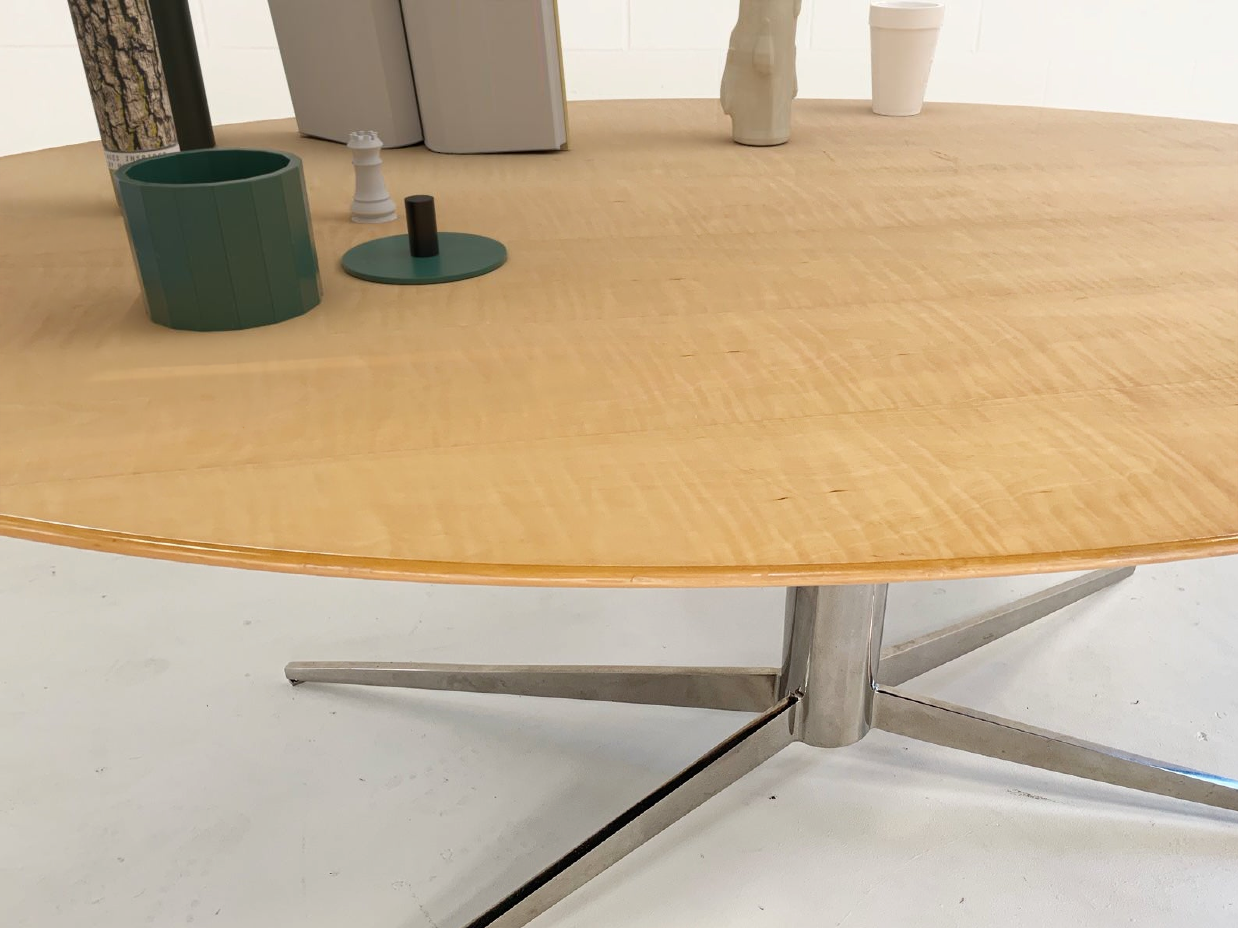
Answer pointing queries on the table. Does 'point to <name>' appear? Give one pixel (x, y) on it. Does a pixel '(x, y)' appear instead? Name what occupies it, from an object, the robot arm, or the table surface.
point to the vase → (761, 71)
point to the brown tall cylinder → (124, 79)
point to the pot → (220, 237)
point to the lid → (424, 252)
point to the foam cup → (902, 53)
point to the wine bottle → (182, 73)
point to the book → (427, 72)
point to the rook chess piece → (369, 181)
